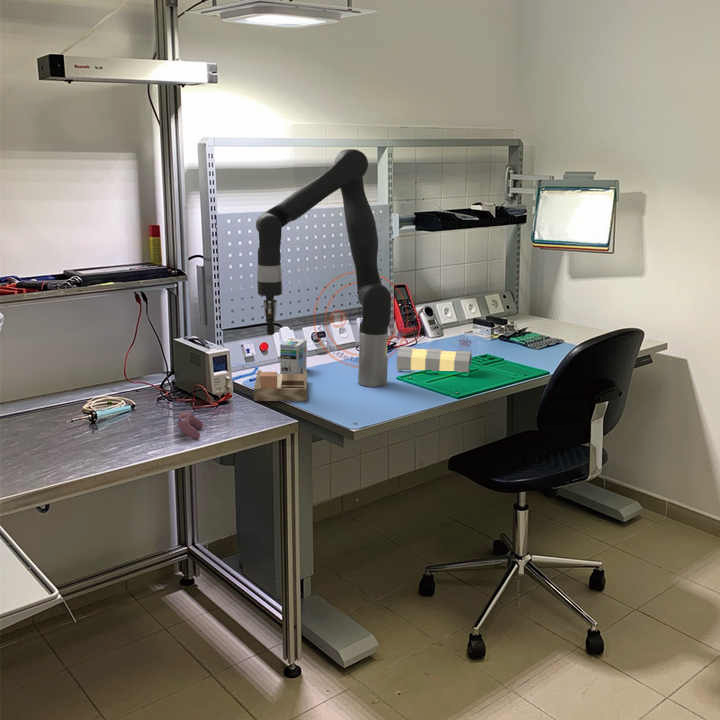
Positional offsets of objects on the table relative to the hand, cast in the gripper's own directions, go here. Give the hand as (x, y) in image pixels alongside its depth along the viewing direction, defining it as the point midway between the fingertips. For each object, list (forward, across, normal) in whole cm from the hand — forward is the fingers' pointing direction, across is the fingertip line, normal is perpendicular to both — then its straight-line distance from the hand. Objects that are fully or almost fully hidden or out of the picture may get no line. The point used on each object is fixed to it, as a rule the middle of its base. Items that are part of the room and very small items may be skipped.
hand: (270, 334), depth 254 cm
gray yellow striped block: (+19, +23, -56) cm, 63 cm away
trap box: (+18, -3, -3) cm, 18 cm away
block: (+15, -10, 0) cm, 18 cm away
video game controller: (+18, -44, +20) cm, 51 cm away
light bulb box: (+18, +20, -7) cm, 28 cm away
